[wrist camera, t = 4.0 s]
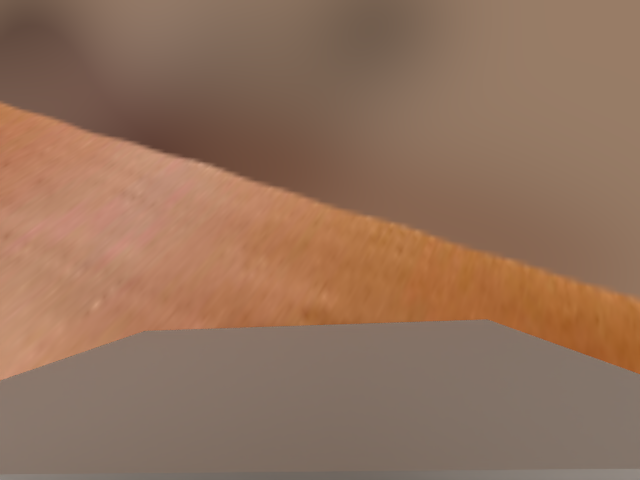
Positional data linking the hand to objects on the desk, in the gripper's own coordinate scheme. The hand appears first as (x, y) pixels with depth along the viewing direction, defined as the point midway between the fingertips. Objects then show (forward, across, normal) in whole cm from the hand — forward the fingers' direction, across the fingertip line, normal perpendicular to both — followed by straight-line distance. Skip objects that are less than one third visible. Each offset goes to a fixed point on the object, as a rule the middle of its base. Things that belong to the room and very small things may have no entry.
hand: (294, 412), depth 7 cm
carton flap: (+1, 0, 0) cm, 1 cm away
